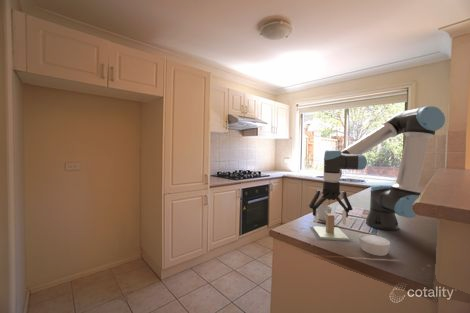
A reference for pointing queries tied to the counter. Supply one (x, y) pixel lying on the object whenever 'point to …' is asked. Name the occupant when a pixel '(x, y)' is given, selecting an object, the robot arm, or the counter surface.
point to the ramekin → (374, 244)
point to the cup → (323, 211)
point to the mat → (329, 239)
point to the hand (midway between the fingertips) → (329, 222)
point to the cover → (330, 230)
